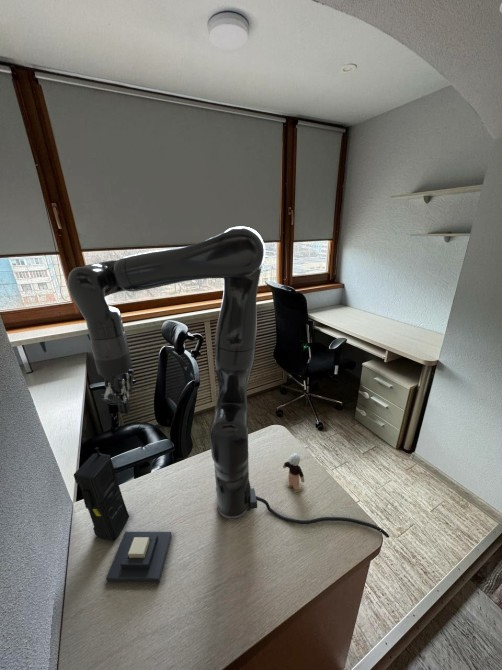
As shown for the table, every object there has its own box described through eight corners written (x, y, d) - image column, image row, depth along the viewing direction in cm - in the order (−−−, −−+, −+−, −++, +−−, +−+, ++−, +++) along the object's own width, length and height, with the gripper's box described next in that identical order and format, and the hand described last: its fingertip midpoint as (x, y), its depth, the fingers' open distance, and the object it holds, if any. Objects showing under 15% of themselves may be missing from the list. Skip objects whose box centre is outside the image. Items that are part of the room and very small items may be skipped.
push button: (171, 535, 70) (170, 527, 69) (159, 582, 61) (157, 573, 60) (126, 535, 71) (124, 527, 69) (107, 582, 61) (104, 573, 60)
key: (149, 541, 66) (148, 537, 66) (144, 558, 63) (143, 553, 62) (135, 541, 66) (134, 537, 66) (129, 558, 63) (127, 553, 62)
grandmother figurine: (306, 486, 83) (309, 456, 78) (302, 496, 80) (304, 465, 75) (284, 475, 87) (286, 445, 82) (279, 484, 84) (280, 454, 79)
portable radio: (112, 546, 68) (89, 475, 59) (92, 541, 69) (65, 471, 60) (131, 516, 75) (113, 448, 66) (112, 512, 76) (91, 444, 67)
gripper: (113, 365, 56) (128, 430, 63) (138, 340, 69) (149, 397, 75) (78, 365, 56) (97, 430, 63) (109, 340, 69) (122, 397, 75)
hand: (125, 412), depth 69 cm, fingers closed
